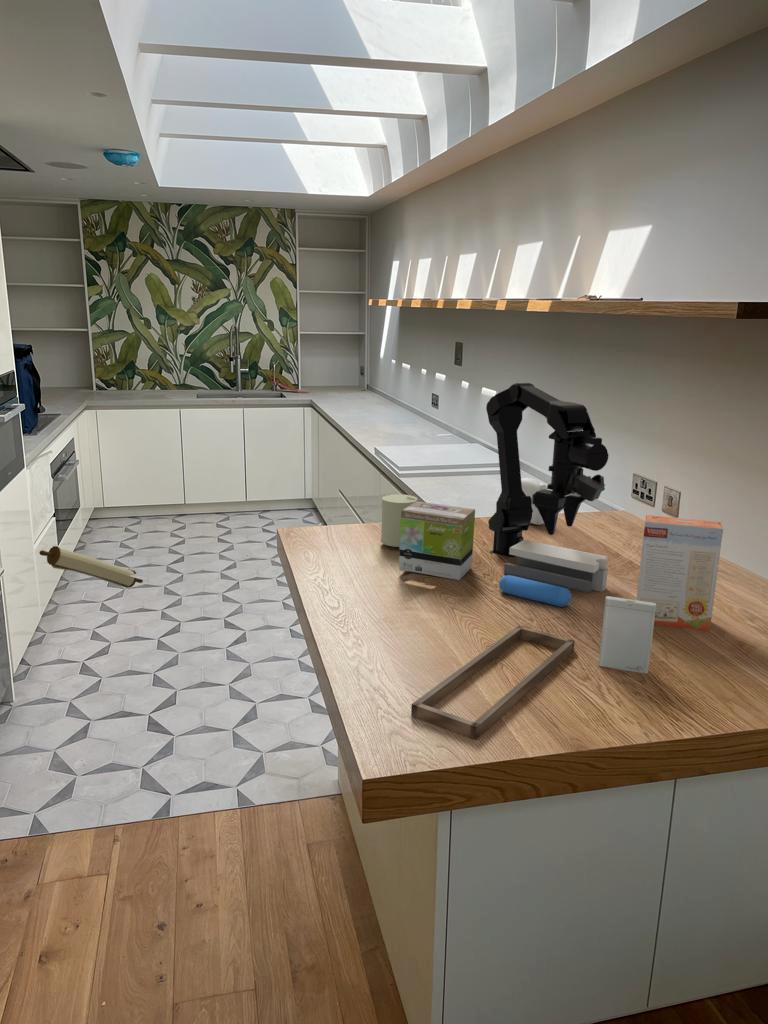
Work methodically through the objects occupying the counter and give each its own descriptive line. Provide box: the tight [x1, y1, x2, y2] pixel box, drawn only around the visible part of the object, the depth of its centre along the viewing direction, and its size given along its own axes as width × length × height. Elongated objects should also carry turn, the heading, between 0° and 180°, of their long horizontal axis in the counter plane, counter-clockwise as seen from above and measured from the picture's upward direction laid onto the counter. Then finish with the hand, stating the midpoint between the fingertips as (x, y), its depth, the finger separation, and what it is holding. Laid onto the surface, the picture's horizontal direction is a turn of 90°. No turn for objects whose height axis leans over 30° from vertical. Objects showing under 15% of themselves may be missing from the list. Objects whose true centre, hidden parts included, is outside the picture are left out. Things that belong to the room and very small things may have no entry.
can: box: [380, 493, 418, 548], centre depth 202 cm, size 9×9×12 cm
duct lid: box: [509, 539, 608, 573], centre depth 176 cm, size 21×8×2 cm, turn 55°
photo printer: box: [521, 477, 548, 526], centre depth 224 cm, size 10×4×12 cm, turn 39°
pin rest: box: [410, 625, 576, 740], centre depth 130 cm, size 11×37×2 cm, turn 145°
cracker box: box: [635, 514, 724, 631], centre depth 153 cm, size 14×6×21 cm, turn 71°
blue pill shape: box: [498, 574, 572, 608], centre depth 166 cm, size 16×4×4 cm, turn 55°
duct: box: [503, 556, 609, 594], centre depth 177 cm, size 22×8×5 cm, turn 55°
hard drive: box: [598, 595, 656, 674], centre depth 134 cm, size 2×8×12 cm, turn 70°
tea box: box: [398, 500, 476, 582], centre depth 181 cm, size 15×10×15 cm, turn 68°
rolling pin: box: [38, 545, 144, 589], centre depth 211 cm, size 32×6×5 cm
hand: (560, 530), depth 177 cm, fingers open, 9 cm apart
